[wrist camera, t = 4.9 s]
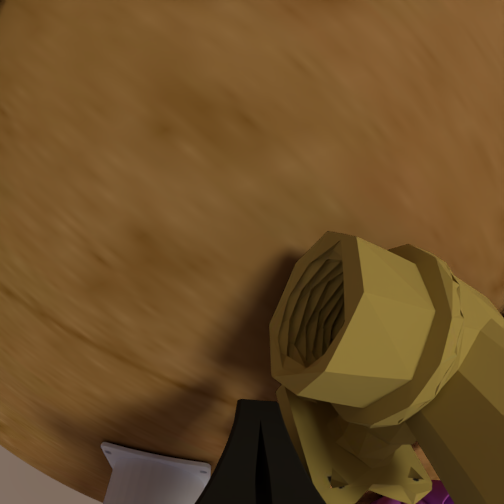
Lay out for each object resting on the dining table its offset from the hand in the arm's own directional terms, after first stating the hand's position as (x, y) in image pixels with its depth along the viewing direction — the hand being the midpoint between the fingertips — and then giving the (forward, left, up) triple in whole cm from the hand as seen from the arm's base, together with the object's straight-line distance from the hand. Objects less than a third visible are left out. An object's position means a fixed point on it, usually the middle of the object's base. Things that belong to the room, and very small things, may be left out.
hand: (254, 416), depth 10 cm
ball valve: (+1, -6, -4) cm, 7 cm away
